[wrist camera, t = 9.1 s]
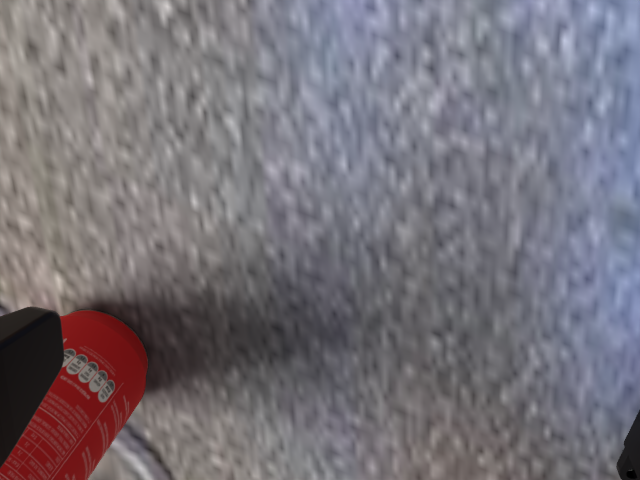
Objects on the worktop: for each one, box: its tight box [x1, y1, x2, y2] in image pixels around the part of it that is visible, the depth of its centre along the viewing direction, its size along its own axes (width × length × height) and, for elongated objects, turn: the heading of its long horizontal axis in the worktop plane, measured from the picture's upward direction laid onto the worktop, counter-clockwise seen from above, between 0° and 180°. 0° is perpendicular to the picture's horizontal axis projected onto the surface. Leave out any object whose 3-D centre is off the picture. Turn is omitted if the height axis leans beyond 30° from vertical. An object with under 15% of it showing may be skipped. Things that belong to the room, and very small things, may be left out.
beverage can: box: [0, 310, 148, 480], centre depth 20 cm, size 5×5×12 cm
